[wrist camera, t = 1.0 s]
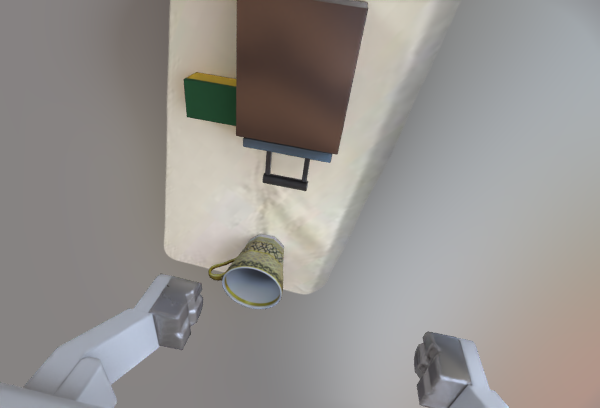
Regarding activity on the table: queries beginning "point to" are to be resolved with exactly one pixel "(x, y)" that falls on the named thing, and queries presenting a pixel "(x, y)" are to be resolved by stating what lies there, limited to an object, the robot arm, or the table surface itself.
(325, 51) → the cabinet
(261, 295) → the ceramic cup
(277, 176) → the drawer
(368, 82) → the table surface
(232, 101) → the sponge
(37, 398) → the robot arm
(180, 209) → the table surface
